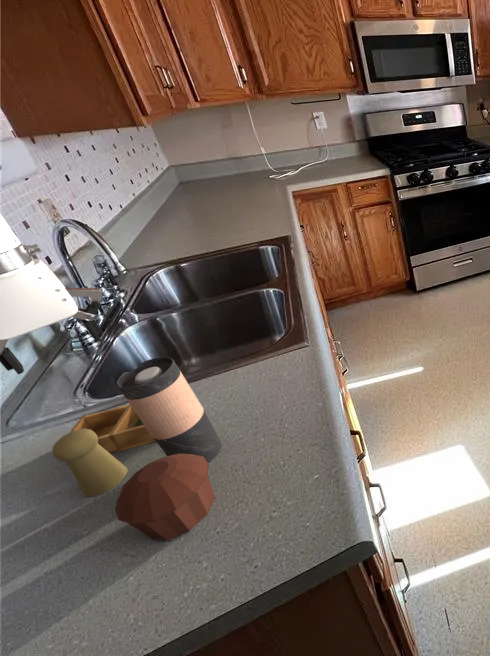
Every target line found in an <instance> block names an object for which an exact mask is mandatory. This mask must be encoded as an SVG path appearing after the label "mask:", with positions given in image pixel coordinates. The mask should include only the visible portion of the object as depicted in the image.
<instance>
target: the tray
mask: <svg viewBox="0 0 490 656" xmlns="http://www.w3.org/2000/svg"><path fill="white" fill-rule="evenodd" d="M79 429H89V430H92V431H94V432H95V433H96V435H97V437H98V444H99V445H100V446H101V447H103V448H104V449H105V450H106V451H107V452H109V453H110V454H111V455H112V454H115V453H119V452H122V451H127V450H130V449H133V448H136V447H141V446H144V445H147V444H151V443H156V441H155V440H154V439H153V437H152V436H151V435H150V433H149V432H148V430H147V429H146V427H145V426H144V424H143V423H142V421H141V420H140V418H139V417H138V416H137V414H136V413H135V411H134V410H133V408H132V407H131V405H130V404H129V403H128V404H125V405H122V406H117V407H114V408H110V409H106V410H102V411H97V412H94V413H90V414H86V415H82V416H80V418H79V420H78V421H77V422H76V424H74V425H73V427H72V429H71V430H70V431H69V433H70V432H73V431H76V430H79Z"/></svg>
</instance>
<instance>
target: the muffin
mask: <svg viewBox="0 0 490 656" xmlns="http://www.w3.org/2000/svg"><path fill="white" fill-rule="evenodd" d="M209 467H210V464H209V463H208V462H207V461H206V459H205V458H204V456H198V455H193V454H175V455H170V456H167V455H166V456H165V455H164V456H162V457H160V458H157V459H156V460H152V461H151V462H149V463H147V464H145V465H144V466H143V467H141V468H140V469H138V470H136V471H135V473H134V474H132V476H131V477H130V478H128V479H127V481H126V482H125V483H124V484H123V486H122V488H121V490H120V492H119V495H118V497H117V500H116V503H115V504H116V505H115V508H114V512H115V514H116V517H117V519H118V521H120V522H124V523H127V524H128V525H130V526H131V527H133V528H134V529H136V530H137V531H139V532H140V533H142V534H144V535H145V537H148V538H149V539H151V540H163V541H168V542H169V541H171V540H172V539H174V538H177V537H179V536H180V535H183V534H186V533H189V532H190V531H192V530H193V529H194V528H195V527H196V526H197V524H199V523H200V521H202V520H203V519H205V518H206V517H207V516H208V515H209V512H210V510H211V508H212V505H213V503H214V502H215V501H216V496H215V493H214V490H213V487H212V484H211V481H210V478H209V476H208V472H209Z"/></svg>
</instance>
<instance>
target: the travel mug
mask: <svg viewBox="0 0 490 656" xmlns="http://www.w3.org/2000/svg"><path fill="white" fill-rule="evenodd" d="M116 386H117V388H118V389H119V391H120V392H121V394H122V395H123V397H124V398H125V400H126V401H127V402H128V405H129V404H130V405H131V407H132V408H133V410H134V411H135V413H136V414H137V416H138V417H139V418H140V420H141V421H142V423H143V424H144V426H145V427H146V429H147V430H148V432H149V433H150V435H151V436H152V437H153V439H154V440H155V443H156V444H157V445H158V446H159V448H160V449H161V450H162V452H163V453H164V454H165V455H166V456H170V455H175V454H193V455H198V456H204V458H205V459H206V461H207V462H208V464H209V463H210V462H211V461H213V460H214V459H215V458H216V457H217V456H218V455H219V453H220V452H221V450H222V442H221V439H220V437H219V435H218V433H217V432H216V430H215V428H214V426H213V424H212V422H211V420H210V418H209V417H208V415H207V413H206V410H205V409H204V407H203V406H202V404H201V403H200V401H199V399H198V397H197V396H196V393H194V391H193V390H192V388H191V386H190V385H189V383H188V381H187V379H186V378H185V376H184V375H183V373H182V371H181V370H180V368H179V367H178V365H177V364H176V361H175V360H174V358H172V357H169V356H158V357H154V358H149V359H147V360H145V361H143V362H142V363H140V365H139V366H138V367H137V368H135V369H134V370H130V371H129V372H127V371H125V372H124V373H122V374H121V375H120V376H119V377H118V379H117V381H116Z"/></svg>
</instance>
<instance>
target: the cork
mask: <svg viewBox="0 0 490 656" xmlns="http://www.w3.org/2000/svg"><path fill="white" fill-rule="evenodd" d="M52 455H53V456H54V458H56V460H58V461H60V462H64V463H66V465H67V467H68V469H69V471H70V472H71V474H72V476H73V478H74V479H75V482H76V483H77V485H78V487H79V489H80V490H81V492H82V494H83V495H84V497H87V498H93V497H97V496H100V495H103V494H105V493H107V492H109V491H111V490H112V489H113V488H115V487H117V486H118V485H119V484H120V483H121V482H122V481H123V480H124V478H125V477H126V476H127V474H128V467H127V466H125V464H123V463H122V462H121V461H119V460H118V459H117V458H116V457H115V456H114V455H112V454H110V453H109V452H107V451H106V450H105V449H104V448H103V447H101V446H100V445H99V444H98V437H97V435H96V433H95V432H94V431H92V430H89V429H79V430H76V431H73V432H70V431H69V432H68V433H67V434H65V435H63V436H62V437H60V438H59V439H57V441H56V442H55V443H54V445H53V447H52Z"/></svg>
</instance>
